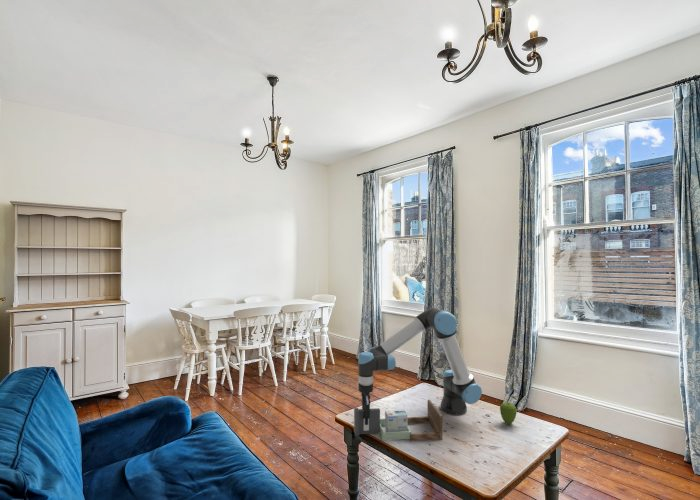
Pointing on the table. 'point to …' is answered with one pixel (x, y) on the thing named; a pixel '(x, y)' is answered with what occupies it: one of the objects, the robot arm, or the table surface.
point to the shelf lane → (433, 419)
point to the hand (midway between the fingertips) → (365, 428)
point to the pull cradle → (376, 425)
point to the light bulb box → (396, 421)
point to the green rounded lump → (508, 412)
